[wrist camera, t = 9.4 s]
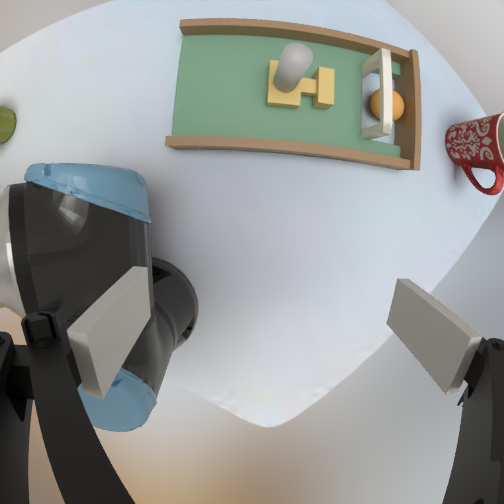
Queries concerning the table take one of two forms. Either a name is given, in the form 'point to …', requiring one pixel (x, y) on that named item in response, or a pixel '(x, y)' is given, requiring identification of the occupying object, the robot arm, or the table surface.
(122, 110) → the table surface
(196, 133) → the pitch
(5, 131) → the plant pot
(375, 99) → the ball
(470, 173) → the mug
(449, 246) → the table surface
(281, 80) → the kicker
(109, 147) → the table surface
